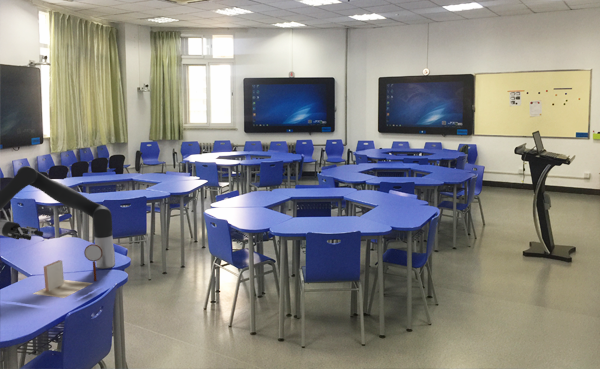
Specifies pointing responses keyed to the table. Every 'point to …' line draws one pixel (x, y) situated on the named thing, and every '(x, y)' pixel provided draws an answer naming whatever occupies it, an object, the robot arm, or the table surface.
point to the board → (64, 289)
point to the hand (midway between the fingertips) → (36, 236)
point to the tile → (53, 275)
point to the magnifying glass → (93, 255)
